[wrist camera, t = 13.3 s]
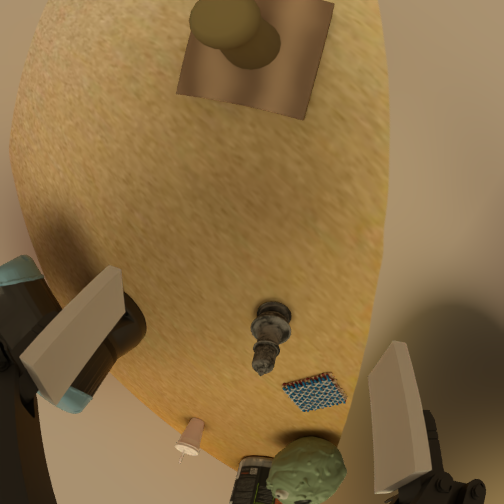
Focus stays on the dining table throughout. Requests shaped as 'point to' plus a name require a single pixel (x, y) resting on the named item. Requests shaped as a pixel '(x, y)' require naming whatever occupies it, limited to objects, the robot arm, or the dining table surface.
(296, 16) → the walnut base
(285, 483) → the green monster head
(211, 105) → the dining table surface
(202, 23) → the olive brown knobbed peg
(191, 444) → the smoothie
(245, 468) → the supplement tub
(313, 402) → the woven mat
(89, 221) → the dining table surface
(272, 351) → the salt shaker
